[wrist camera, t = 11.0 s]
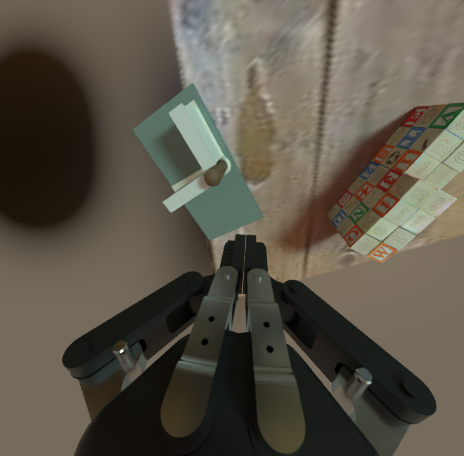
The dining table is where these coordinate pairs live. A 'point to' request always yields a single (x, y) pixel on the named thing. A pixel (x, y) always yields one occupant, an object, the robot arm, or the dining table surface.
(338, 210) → the stack of blocks
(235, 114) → the dining table surface
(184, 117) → the panel
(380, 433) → the robot arm
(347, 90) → the dining table surface
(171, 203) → the panel
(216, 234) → the board
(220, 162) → the brown rounded rod
